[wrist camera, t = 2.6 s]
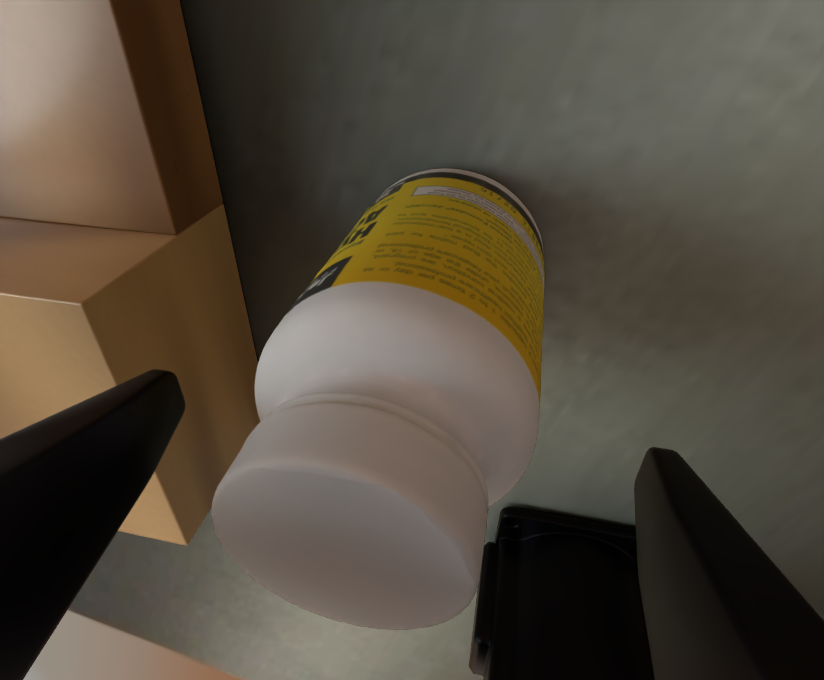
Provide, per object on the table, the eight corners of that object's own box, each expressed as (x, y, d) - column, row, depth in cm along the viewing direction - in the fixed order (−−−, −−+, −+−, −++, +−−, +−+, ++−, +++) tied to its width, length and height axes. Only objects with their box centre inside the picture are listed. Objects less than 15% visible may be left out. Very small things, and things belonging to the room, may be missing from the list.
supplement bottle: (390, 130, 13) (166, 352, 5) (581, 210, 13) (629, 538, 6) (341, 293, 17) (160, 577, 9) (495, 356, 17) (450, 689, 9)
